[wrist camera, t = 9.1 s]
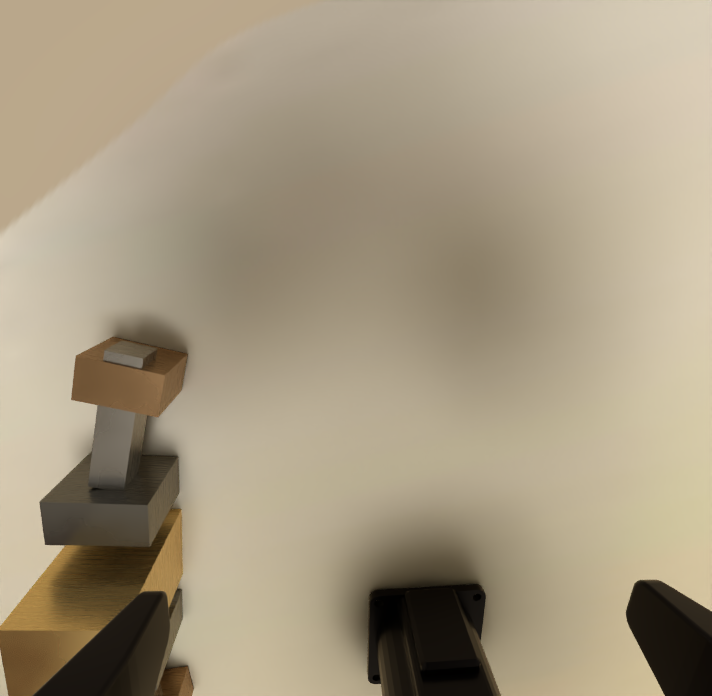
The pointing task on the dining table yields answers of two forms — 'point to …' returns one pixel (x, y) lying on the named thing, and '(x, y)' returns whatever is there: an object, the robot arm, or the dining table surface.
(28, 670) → the coupler
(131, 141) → the dining table surface
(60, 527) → the shaft rig
